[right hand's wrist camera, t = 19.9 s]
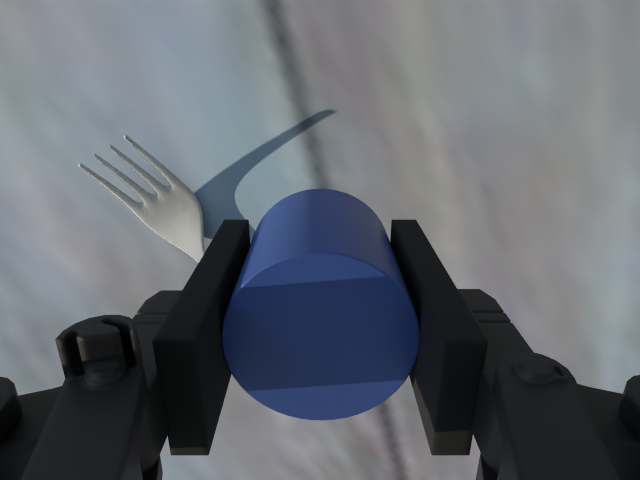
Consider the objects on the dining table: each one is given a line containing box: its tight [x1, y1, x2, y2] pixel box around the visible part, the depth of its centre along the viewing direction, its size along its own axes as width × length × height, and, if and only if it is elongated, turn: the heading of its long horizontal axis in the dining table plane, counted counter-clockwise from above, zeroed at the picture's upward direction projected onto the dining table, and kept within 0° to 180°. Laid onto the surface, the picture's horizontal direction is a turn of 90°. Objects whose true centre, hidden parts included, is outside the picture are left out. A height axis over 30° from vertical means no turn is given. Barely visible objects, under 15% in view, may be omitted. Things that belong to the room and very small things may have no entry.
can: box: [221, 189, 420, 420], centre depth 12 cm, size 4×4×5 cm
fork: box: [79, 135, 205, 263], centre depth 20 cm, size 3×16×2 cm, turn 29°
